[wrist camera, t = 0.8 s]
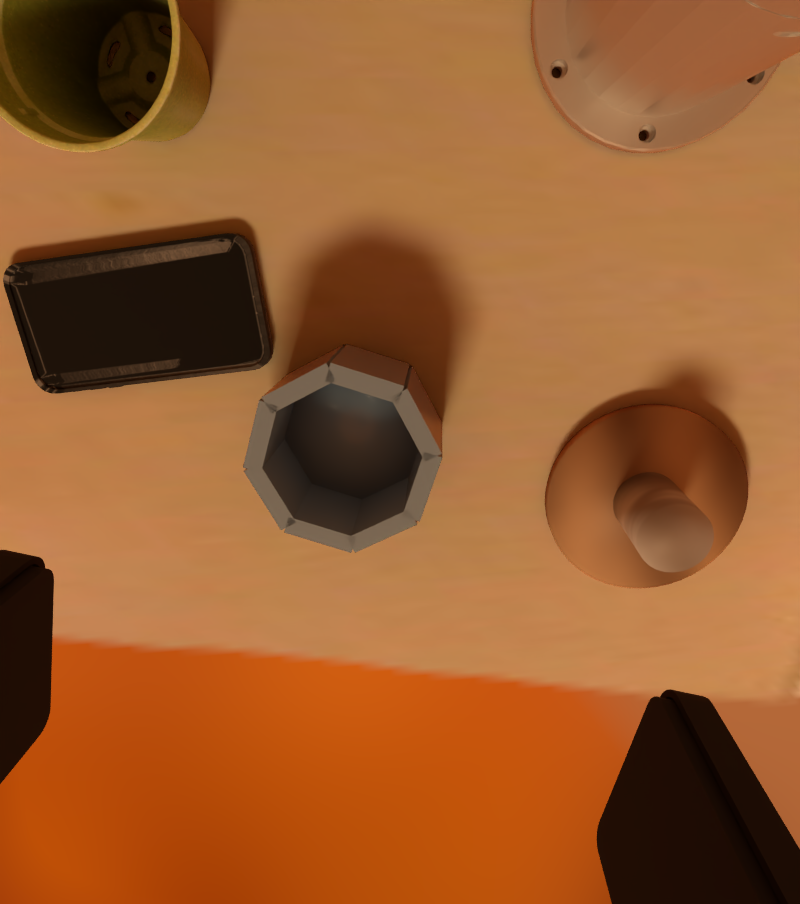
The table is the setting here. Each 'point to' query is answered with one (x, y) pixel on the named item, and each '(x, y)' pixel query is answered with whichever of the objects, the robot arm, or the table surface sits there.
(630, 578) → the lid
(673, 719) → the robot arm
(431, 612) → the table surface
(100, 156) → the table surface
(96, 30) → the plant pot
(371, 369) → the bowl
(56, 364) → the phone
